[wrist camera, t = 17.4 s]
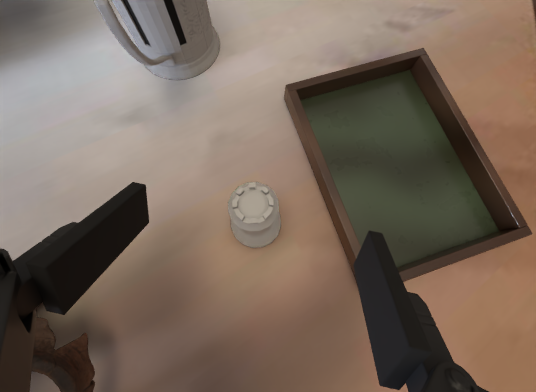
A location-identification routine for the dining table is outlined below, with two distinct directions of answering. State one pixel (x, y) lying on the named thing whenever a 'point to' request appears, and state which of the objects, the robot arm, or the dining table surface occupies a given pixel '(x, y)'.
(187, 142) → the dining table surface
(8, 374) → the robot arm
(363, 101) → the tray
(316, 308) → the dining table surface
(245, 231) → the rook chess piece
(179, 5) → the glass holder
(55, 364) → the broken clay pot
